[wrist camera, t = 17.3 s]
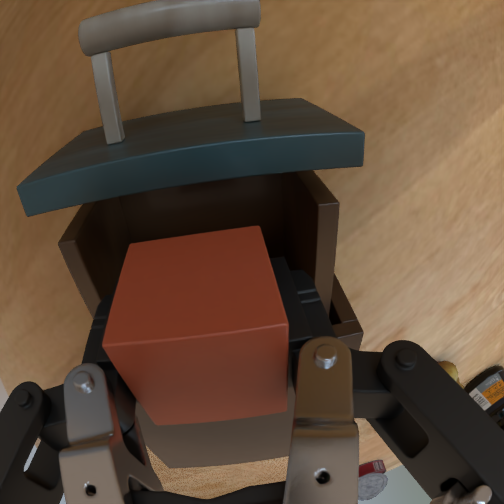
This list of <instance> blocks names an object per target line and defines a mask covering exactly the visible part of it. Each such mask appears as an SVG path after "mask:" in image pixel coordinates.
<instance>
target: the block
mask: <svg viewBox="0 0 504 504" xmlns="http://www.w3.org/2000/svg"><path fill="white" fill-rule="evenodd" d="M102 347H103V349H104V350H105V352H106V354H107V355H108V357H109V358H110V360H111V362H112V363H113V365H114V366H115V368H116V369H117V371H118V373H119V374H120V376H121V377H122V379H123V380H124V382H125V383H126V385H127V386H128V387H129V389H130V390H131V392H132V393H133V395H134V396H135V398H136V399H137V400H138V402H139V403H140V405H141V406H142V407H143V409H144V410H145V411H146V413H147V414H148V416H149V417H150V418H151V420H152V421H153V422H154V424H155V425H175V424H190V423H203V422H214V421H223V420H232V419H240V418H248V417H255V416H262V415H268V414H274V413H280V412H285V411H287V404H288V352H289V323H288V320H287V316H286V313H285V309H284V306H283V302H282V299H281V296H280V292H279V289H278V285H277V282H276V279H275V275H274V272H273V268H272V265H271V262H270V258H269V255H268V252H267V248H266V245H265V242H264V238H263V235H262V232H261V228H260V226H250V227H243V228H235V229H228V230H221V231H213V232H206V233H199V234H192V235H185V236H178V237H172V238H165V239H158V240H151V241H145V242H138V243H132V244H130V245H129V248H128V251H127V254H126V257H125V260H124V264H123V267H122V270H121V274H120V277H119V281H118V284H117V288H116V291H115V295H114V298H113V302H112V306H111V310H110V313H109V317H108V321H107V325H106V329H105V334H104V338H103V342H102Z"/></svg>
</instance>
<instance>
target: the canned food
mask: <svg viewBox="0 0 504 504" xmlns="http://www.w3.org/2000/svg"><path fill="white" fill-rule="evenodd" d="M385 472H386V469H385V466H384V463H383V460H376V461H372V462H368V463H365V464H362V465H360V466H359V482H358V500H361V501H363V500H369V499H372V498H374V497H376V496H377V495H378V494H379V493H380V492H381V491H383V489H384V488H385V486H386V485H387V481H388V478H387V476H386V475H384V474H383V473H385Z"/></svg>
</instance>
